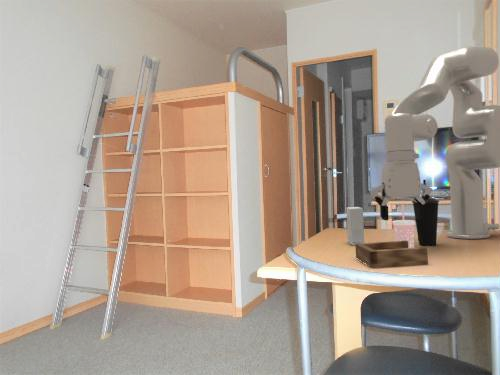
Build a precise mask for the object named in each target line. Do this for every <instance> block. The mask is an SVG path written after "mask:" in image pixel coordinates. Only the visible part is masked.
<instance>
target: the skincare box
mask: <svg viewBox="0 0 500 375" xmlns="http://www.w3.org/2000/svg"><path fill="white" fill-rule="evenodd" d="M363 208H364V207H359V206H353V207H352V206H351V207H349V206H347V207H346V209H345V210H346V228H347V229H346V232H347V243H348V244H349V245H352V246H355V244H360V243H366V242H365V226H364V225H365V224H364V223H365V222H364V209H363Z"/></svg>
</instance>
